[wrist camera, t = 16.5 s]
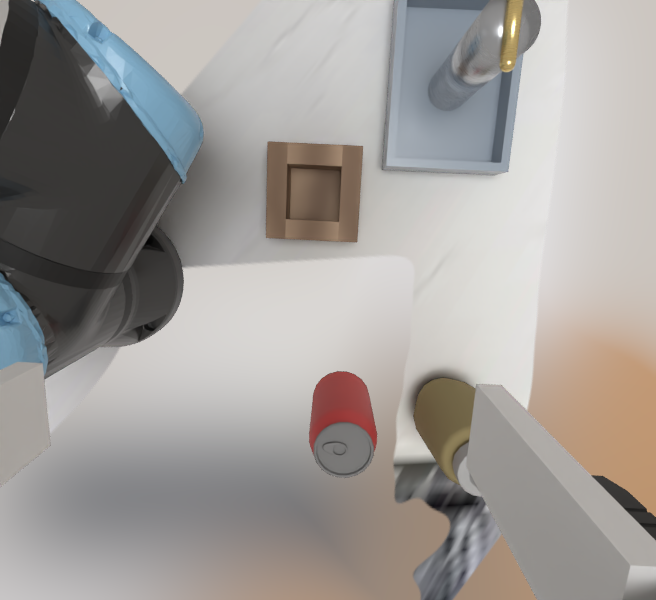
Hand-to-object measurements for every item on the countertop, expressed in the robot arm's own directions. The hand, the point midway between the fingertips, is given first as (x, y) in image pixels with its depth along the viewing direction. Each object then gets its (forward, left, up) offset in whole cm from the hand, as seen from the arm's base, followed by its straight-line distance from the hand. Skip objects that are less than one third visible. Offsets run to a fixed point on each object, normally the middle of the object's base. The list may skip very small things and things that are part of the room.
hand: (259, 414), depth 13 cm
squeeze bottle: (+16, -15, -35) cm, 41 cm away
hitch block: (0, +8, -35) cm, 36 cm away
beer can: (+4, -15, -35) cm, 38 cm away
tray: (+13, +19, -35) cm, 42 cm away
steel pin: (+13, +19, -34) cm, 41 cm away
